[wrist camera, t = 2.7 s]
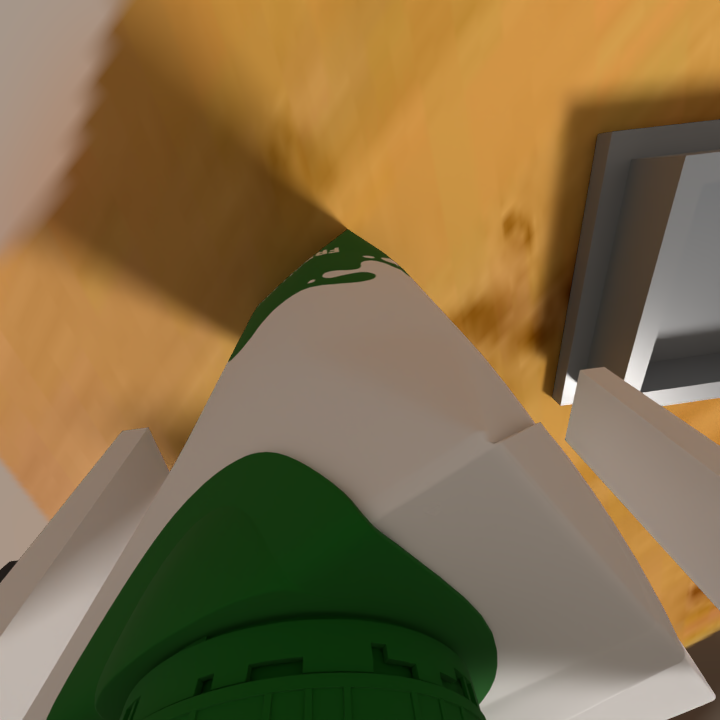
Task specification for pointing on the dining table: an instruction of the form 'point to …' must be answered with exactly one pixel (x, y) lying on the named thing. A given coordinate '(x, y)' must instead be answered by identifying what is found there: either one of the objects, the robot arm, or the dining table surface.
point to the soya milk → (370, 541)
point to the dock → (649, 266)
